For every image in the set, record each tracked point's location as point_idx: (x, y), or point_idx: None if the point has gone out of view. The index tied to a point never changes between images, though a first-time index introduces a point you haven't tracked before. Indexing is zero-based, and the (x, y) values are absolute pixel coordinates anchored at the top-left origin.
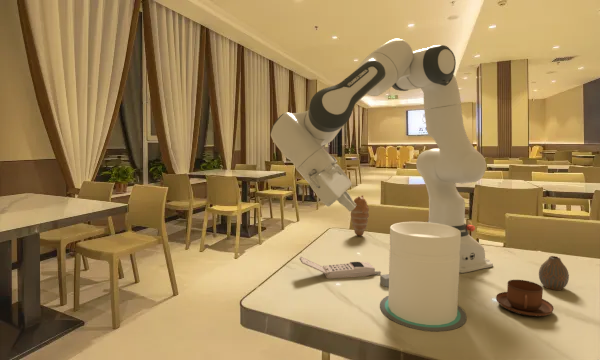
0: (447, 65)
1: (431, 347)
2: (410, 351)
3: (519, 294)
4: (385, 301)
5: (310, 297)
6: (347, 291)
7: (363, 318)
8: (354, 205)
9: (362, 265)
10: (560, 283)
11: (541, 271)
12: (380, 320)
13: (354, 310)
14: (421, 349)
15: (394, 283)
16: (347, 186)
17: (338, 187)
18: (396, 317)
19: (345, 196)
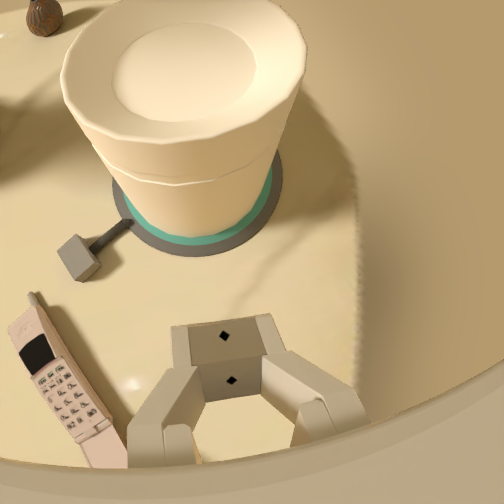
0: None
1: (327, 149)
2: (354, 177)
3: None
4: (188, 246)
5: (242, 418)
6: (166, 349)
7: (287, 273)
8: (241, 323)
9: (36, 339)
10: (62, 13)
11: (42, 21)
12: (280, 239)
13: (261, 302)
14: (340, 162)
15: (249, 193)
16: (76, 486)
17: (481, 452)
18: (257, 210)
19: (330, 404)
